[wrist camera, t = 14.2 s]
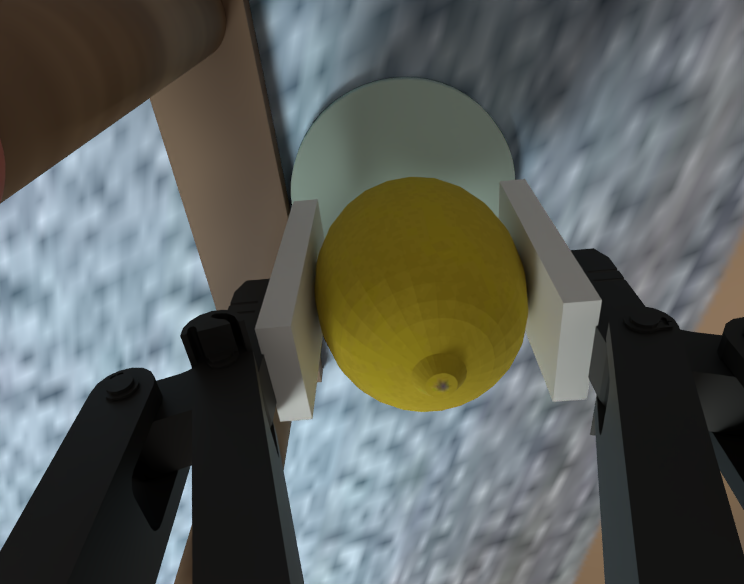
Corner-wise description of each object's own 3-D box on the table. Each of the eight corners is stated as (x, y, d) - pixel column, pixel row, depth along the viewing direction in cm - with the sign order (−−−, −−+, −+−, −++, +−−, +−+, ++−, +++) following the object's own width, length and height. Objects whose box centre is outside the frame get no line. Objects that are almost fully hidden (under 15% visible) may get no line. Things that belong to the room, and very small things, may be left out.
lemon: (510, 245, 19) (610, 413, 12) (373, 317, 20) (392, 505, 13) (437, 104, 16) (511, 218, 9) (284, 199, 17) (251, 359, 11)
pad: (312, 292, 22) (310, 300, 22) (272, 90, 18) (269, 95, 17) (507, 274, 22) (511, 282, 21) (516, 64, 18) (520, 67, 17)
